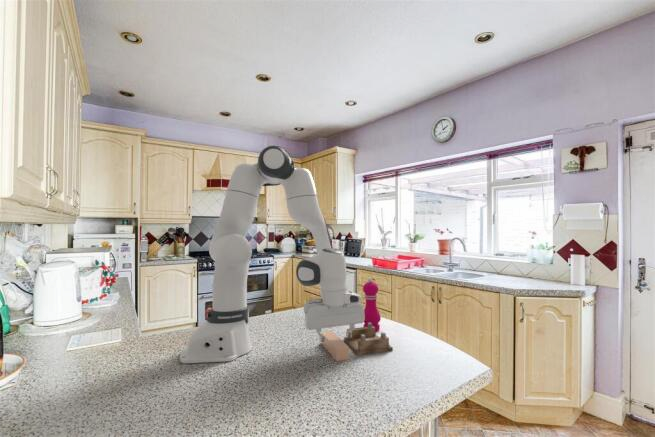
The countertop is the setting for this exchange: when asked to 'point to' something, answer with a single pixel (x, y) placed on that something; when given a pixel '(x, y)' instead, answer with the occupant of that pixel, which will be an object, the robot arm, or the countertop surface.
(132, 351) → the countertop surface
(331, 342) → the peach rectangular block
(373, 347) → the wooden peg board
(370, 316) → the pepper mill
